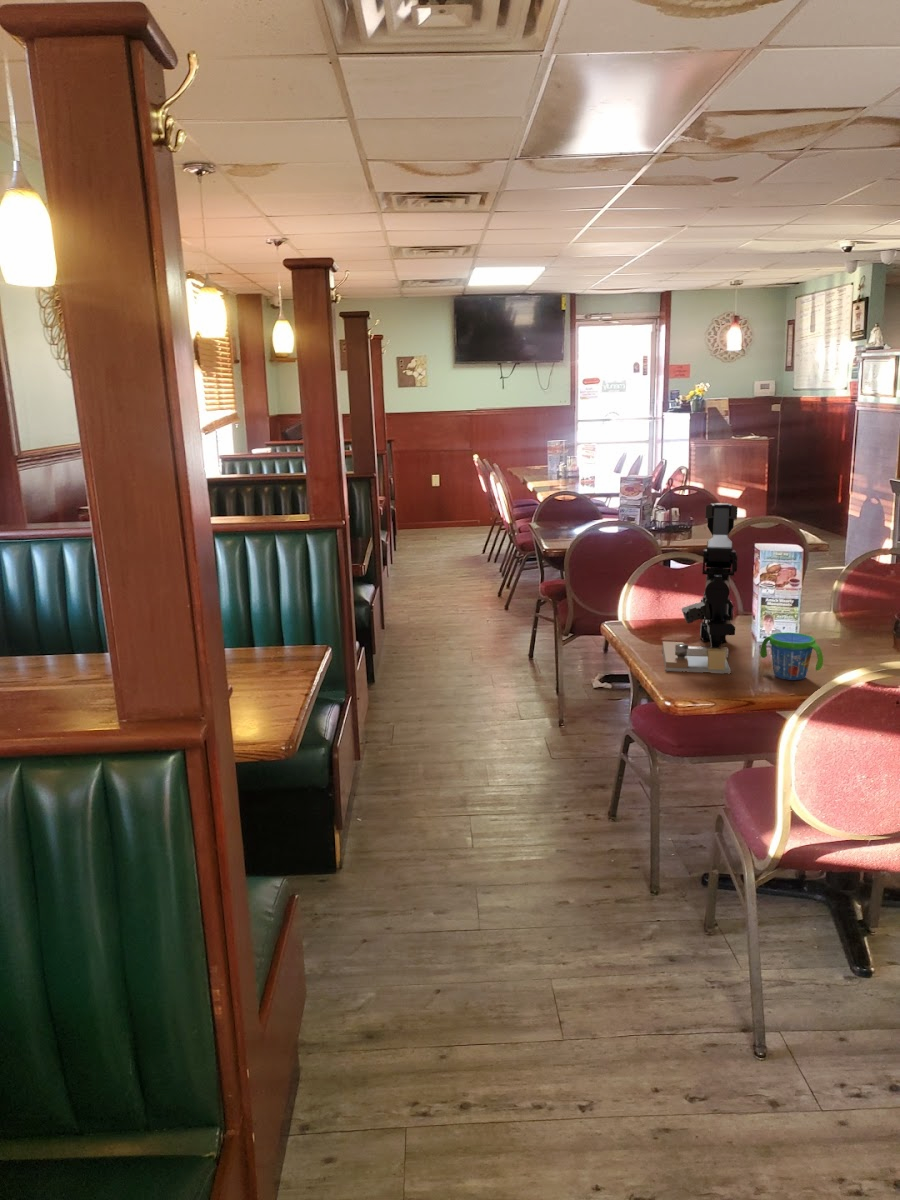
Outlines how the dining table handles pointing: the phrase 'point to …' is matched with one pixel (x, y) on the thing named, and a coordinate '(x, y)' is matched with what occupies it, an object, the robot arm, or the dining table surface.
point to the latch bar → (695, 650)
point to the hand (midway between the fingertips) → (714, 652)
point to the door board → (695, 660)
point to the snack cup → (791, 654)
